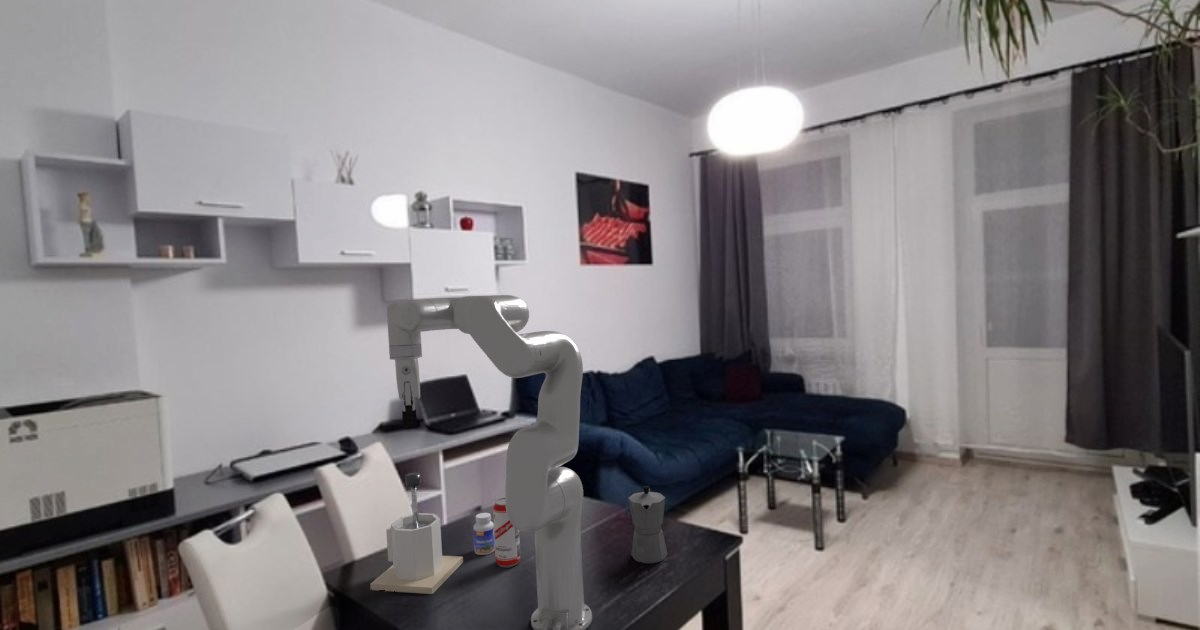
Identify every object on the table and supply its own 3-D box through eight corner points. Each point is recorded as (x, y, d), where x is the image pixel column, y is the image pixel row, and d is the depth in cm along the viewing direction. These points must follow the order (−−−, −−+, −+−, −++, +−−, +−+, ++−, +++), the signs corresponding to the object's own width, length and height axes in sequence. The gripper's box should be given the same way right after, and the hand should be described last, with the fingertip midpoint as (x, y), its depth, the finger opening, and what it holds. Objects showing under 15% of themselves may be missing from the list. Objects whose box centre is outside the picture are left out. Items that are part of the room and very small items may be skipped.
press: (432, 594, 134) (429, 536, 133) (370, 589, 137) (367, 533, 137) (463, 562, 149) (460, 510, 149) (406, 559, 153) (403, 508, 152)
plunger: (423, 539, 138) (419, 480, 138) (391, 538, 140) (387, 479, 139) (440, 525, 146) (436, 469, 146) (409, 524, 148) (406, 469, 148)
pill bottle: (475, 557, 152) (473, 520, 152) (474, 548, 158) (472, 513, 157) (496, 553, 154) (494, 517, 154) (494, 545, 159) (492, 510, 159)
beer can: (515, 569, 144) (512, 505, 144) (492, 568, 145) (488, 505, 145) (524, 558, 150) (520, 496, 150) (501, 557, 152) (498, 496, 151)
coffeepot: (668, 567, 141) (665, 494, 141) (629, 567, 142) (626, 495, 142) (667, 541, 157) (664, 474, 156) (632, 541, 157) (629, 475, 157)
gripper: (422, 353, 136) (426, 431, 136) (421, 348, 150) (425, 419, 150) (388, 355, 133) (392, 435, 134) (390, 351, 148) (394, 422, 148)
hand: (410, 426), depth 142 cm, fingers closed
